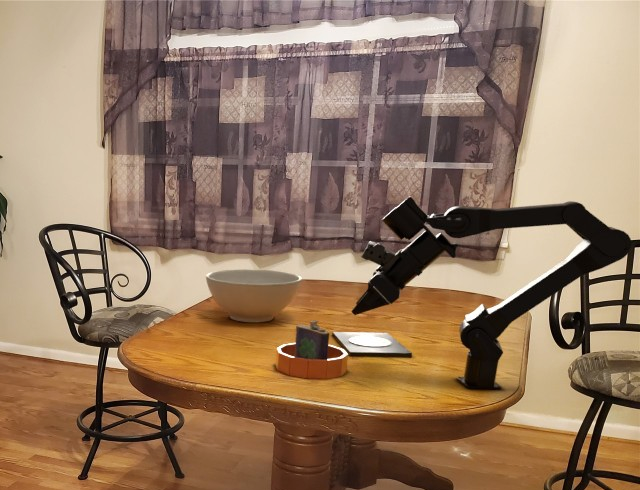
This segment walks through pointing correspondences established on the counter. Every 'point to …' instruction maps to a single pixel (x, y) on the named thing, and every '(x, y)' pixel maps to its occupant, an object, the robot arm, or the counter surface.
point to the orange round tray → (311, 363)
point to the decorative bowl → (252, 292)
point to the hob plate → (370, 344)
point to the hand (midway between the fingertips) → (355, 309)
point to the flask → (311, 342)
